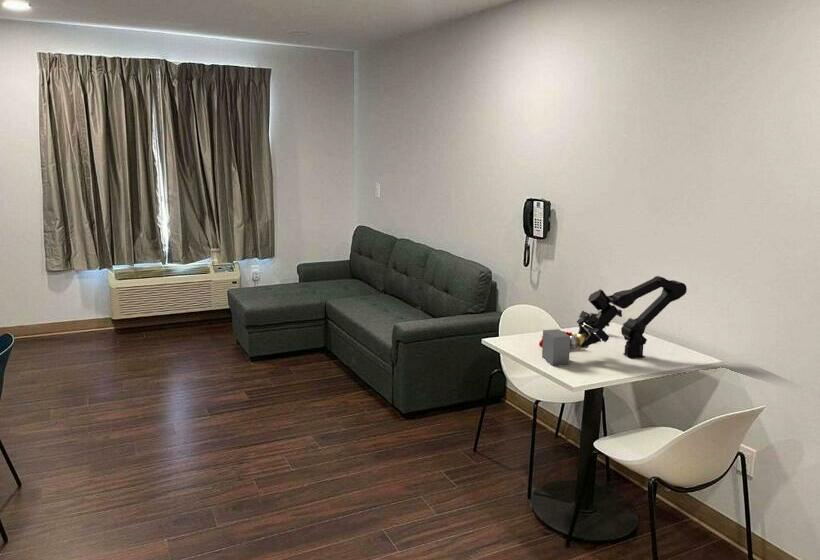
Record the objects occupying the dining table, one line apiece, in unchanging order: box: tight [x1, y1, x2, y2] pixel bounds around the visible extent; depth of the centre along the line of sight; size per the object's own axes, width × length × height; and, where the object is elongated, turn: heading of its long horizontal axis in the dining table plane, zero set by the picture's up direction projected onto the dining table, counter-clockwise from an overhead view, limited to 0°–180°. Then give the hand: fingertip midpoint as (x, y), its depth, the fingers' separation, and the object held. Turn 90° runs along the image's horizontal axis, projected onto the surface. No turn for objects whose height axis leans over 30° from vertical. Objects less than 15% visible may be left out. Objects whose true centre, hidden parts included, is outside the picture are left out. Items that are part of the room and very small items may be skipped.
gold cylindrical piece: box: [570, 333, 590, 350], centre depth 262 cm, size 8×6×6 cm
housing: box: [541, 328, 571, 367], centre depth 261 cm, size 7×11×12 cm, turn 11°
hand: (578, 344), depth 262 cm, fingers closed on gold cylindrical piece, 6 cm apart
